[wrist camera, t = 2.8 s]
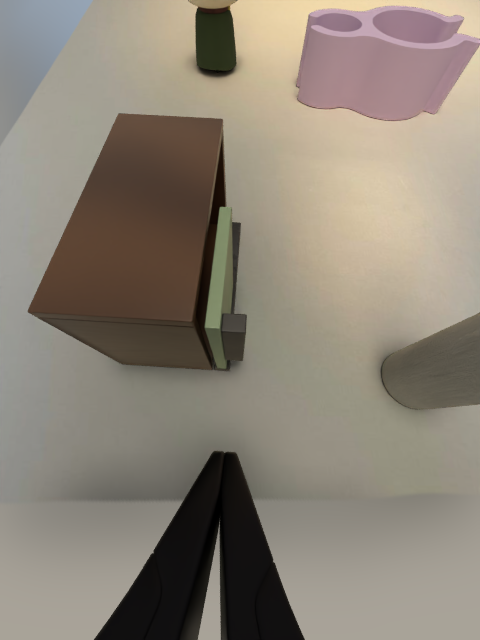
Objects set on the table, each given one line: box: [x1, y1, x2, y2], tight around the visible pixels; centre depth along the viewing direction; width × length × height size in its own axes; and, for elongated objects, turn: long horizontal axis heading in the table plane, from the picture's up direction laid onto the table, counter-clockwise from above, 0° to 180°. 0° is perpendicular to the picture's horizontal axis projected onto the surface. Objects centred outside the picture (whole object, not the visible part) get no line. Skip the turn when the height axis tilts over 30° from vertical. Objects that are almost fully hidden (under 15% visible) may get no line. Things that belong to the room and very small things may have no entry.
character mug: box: [188, 0, 237, 72], centre depth 33 cm, size 11×7×13 cm, turn 8°
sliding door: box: [205, 207, 247, 369], centre depth 16 cm, size 8×2×8 cm, turn 177°
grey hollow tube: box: [382, 313, 480, 409], centre depth 14 cm, size 4×4×10 cm
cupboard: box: [28, 113, 241, 371], centre depth 18 cm, size 15×9×10 cm, turn 177°
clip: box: [296, 6, 480, 120], centre depth 33 cm, size 20×12×7 cm, turn 87°
